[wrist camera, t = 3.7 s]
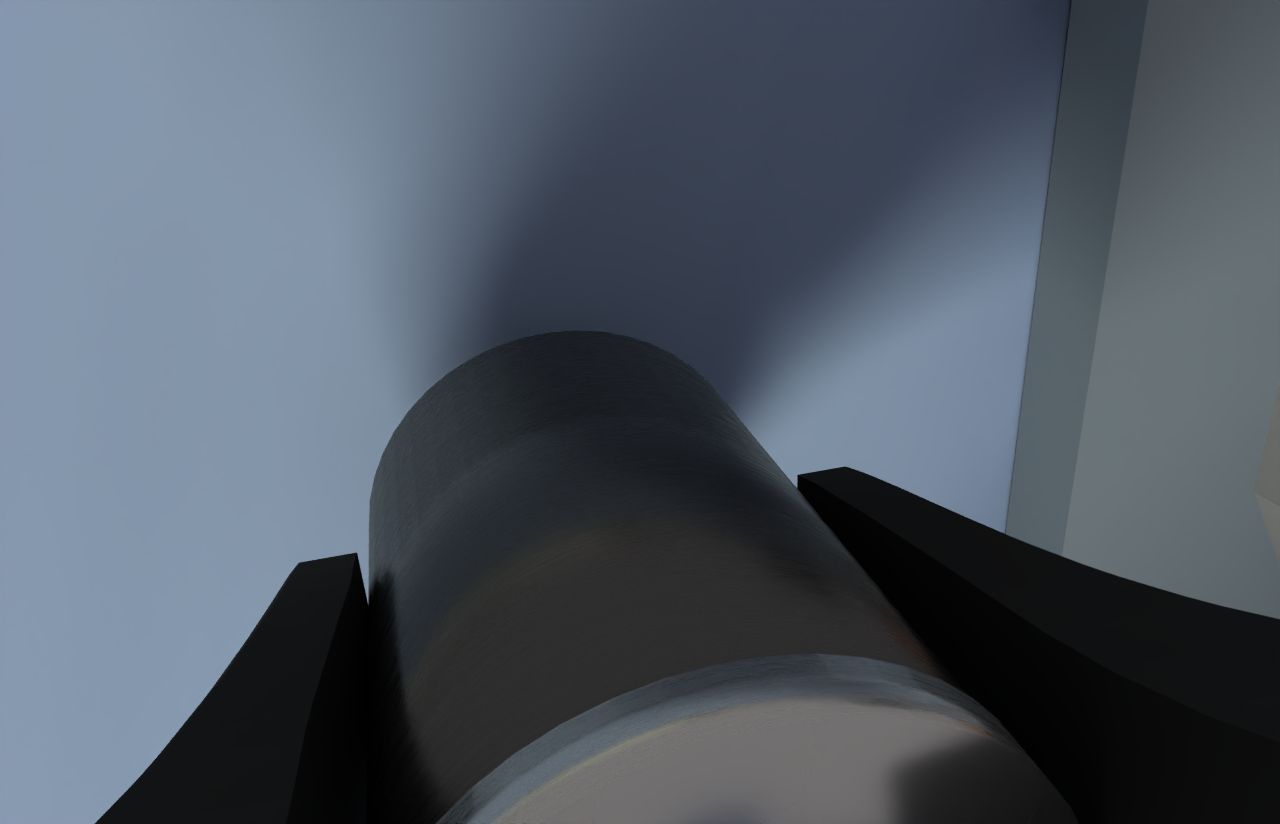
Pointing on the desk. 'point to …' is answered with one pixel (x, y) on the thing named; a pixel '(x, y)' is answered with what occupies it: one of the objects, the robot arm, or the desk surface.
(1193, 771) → the robot arm
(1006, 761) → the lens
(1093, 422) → the mount plate
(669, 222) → the desk surface
